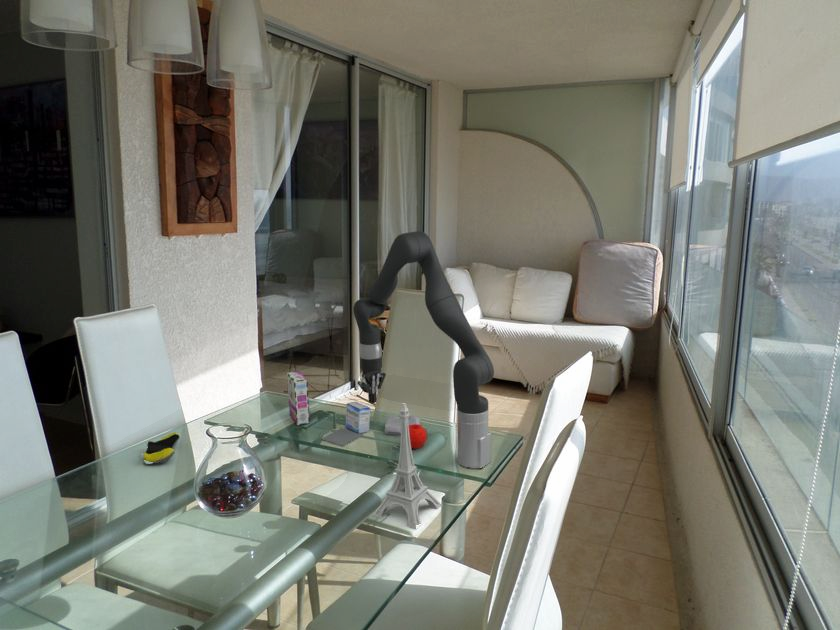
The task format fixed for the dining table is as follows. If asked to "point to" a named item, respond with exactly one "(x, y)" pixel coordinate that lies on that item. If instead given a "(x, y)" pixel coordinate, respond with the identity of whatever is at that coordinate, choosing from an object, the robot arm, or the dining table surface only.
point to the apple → (417, 436)
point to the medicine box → (357, 417)
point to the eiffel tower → (407, 481)
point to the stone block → (398, 424)
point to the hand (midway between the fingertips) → (372, 402)
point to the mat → (341, 437)
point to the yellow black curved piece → (161, 449)
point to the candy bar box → (298, 398)
